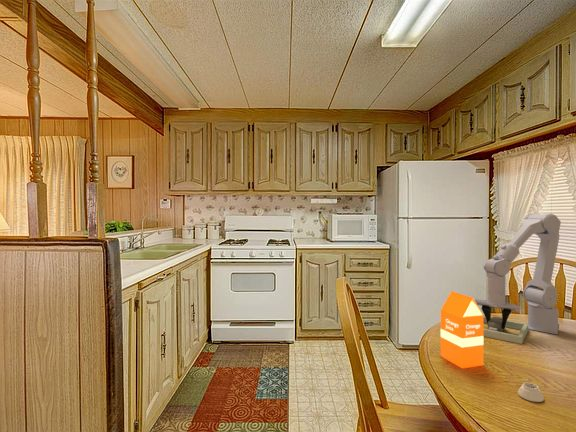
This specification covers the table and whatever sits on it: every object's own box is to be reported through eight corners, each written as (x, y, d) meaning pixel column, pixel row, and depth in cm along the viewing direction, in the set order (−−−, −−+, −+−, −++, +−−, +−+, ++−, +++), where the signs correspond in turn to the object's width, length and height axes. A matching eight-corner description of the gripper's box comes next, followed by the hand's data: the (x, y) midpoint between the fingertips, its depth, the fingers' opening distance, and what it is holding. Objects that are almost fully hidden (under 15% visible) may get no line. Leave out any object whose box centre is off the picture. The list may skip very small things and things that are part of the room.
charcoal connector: (505, 328, 129) (505, 318, 129) (498, 337, 119) (498, 326, 119) (493, 326, 132) (493, 315, 131) (486, 334, 122) (486, 323, 122)
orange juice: (462, 368, 95) (462, 298, 95) (440, 355, 104) (440, 291, 104) (484, 365, 97) (484, 296, 97) (460, 353, 106) (460, 290, 106)
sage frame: (528, 330, 126) (528, 324, 126) (521, 344, 113) (521, 337, 113) (475, 320, 138) (475, 314, 138) (463, 332, 125) (463, 325, 125)
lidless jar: (549, 403, 78) (532, 392, 83) (549, 390, 78) (532, 380, 83) (528, 403, 78) (513, 392, 83) (528, 391, 78) (513, 380, 83)
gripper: (472, 290, 128) (472, 325, 128) (518, 296, 118) (518, 334, 118) (476, 287, 133) (476, 321, 133) (520, 292, 123) (520, 329, 124)
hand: (496, 327), depth 126 cm, fingers closed on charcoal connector, 4 cm apart
